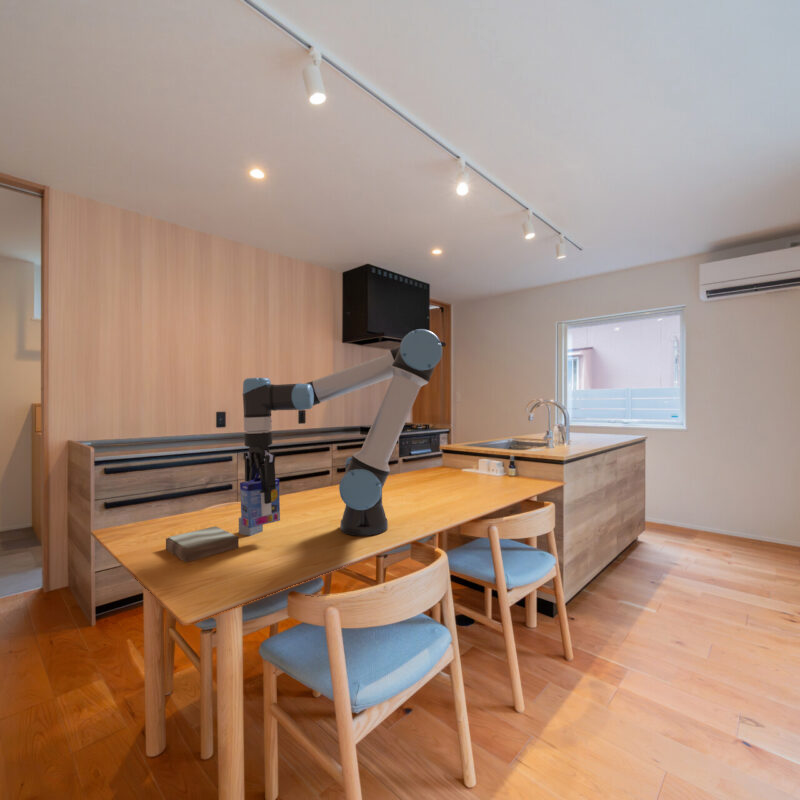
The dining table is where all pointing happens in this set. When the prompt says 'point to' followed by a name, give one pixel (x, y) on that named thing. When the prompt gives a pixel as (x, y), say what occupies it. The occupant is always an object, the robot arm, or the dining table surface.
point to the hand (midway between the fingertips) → (260, 512)
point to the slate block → (249, 529)
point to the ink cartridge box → (257, 503)
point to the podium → (201, 543)
